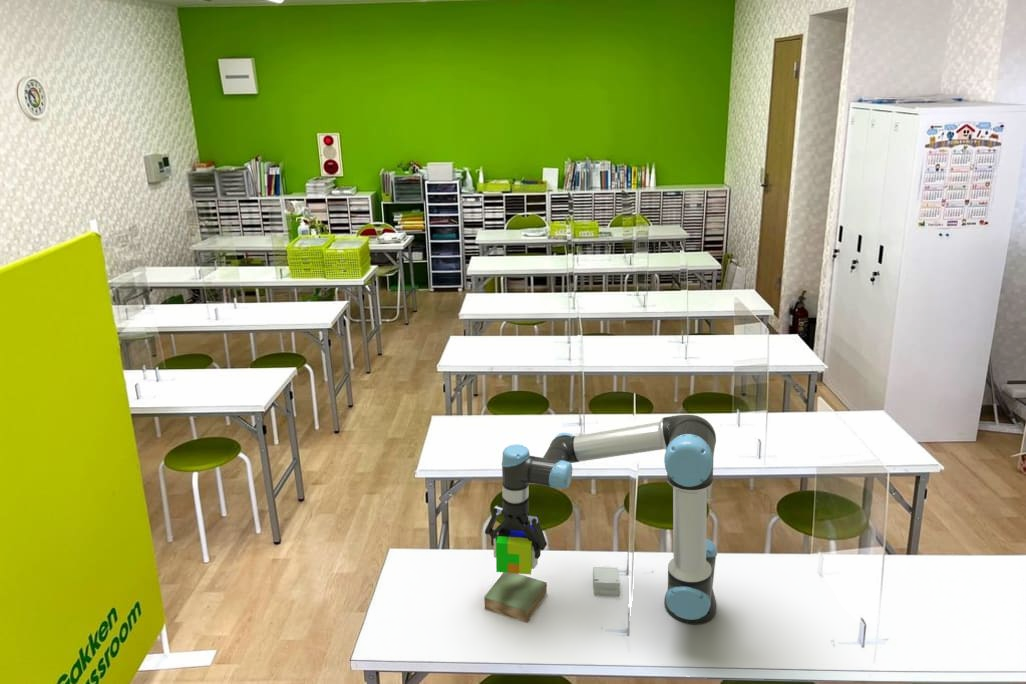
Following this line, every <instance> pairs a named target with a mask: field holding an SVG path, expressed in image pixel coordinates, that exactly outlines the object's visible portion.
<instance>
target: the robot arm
mask: <svg viewBox="0 0 1026 684" xmlns="http://www.w3.org/2000/svg"><path fill="white" fill-rule="evenodd" d="M716 443H717V435H716V431H715V429H714V427H713V425H712V424H711V423H710V422H709V421H708V420H707V419H705V418H704V417H701V416H699V415H695V414H679V415H678V414H676V415H672V416H671V415H670V416H666V417H662V418H661V419H660V420H659V421H658V422H651V423H647V424H646V423H645V424H640V425H635V426H634V425H633V426H627V427H622V428H615V429H609V430H604V431H597V432H593V433H592V432H591V433H587V434H581V435H573V434H571V433H568V432H561V433H558V434H557V435H556V436H555V437H554V438H553V439H552V440H551V443H550V444H549V446H548V449H547V450H546V452H545V454H544V455H543V457H540V456H533V455H530V449H529V448H528V447H527V446H524V445H523V444H511V445H507V446H506V447H505V448H504V449H503V451H502V458H501V459H502V460H501V472H502V475H501V476H502V478H501V479H502V488H501V489H502V490H501V491H502V493H501V494H502V496H501V497H502V505H501V506H502V507H501V506H500V505H499V504H496V505H495V506H494V507H493V508H492V515H491V518H490V519H489V521H488V524H487V526H486V528H485V530H484V533H485V535H489V536H490V544H491V547H493V557H494V558H495V559H496V541H497V537H498V533H499V531H500V530H501V529H502V528H503V527H504V526H505V525H506V524H507V523H508V524H509V525H511V526H515V527H518V528H519V527H520V529H521V531H523V532H524V533H525V535H526V536H527V538H528V540H529V541H532V546H533V549H532V564H531V568H532V570H534V569H536V567H537V565H538V564H539V563H538V561H539V558H540V556H541V552H542V551H544V549H546V547H547V546H548V543H547V541H546V537H545V535H544V532H543V529H542V527H541V524H540V517H539V515H537V514H536V515H534V516H533V515H530V513H529V509H530V508H529V507H530V506H529V504H530V502H529V500H530V499H529V495H530V494H529V493H530V491H529V486H530V484H531V485H532V484H533V485H539V486H544V487H548V488H552V489H568V488H569V486H570V484H571V480H572V478H573V476H572V475H573V465H572V464H575V463H580V462H586V461H587V462H588V461H593V460H600V459H606V458H614V457H620V456H627V455H635V454H641V453H646V452H647V453H648V452H653V451H662V450H665V453H664V458H663V459H664V460H663V462H664V463H663V464H664V467H665V471H666V480H667V483H668V485H670V486H671V487H672V490H673V491H672V493H673V494H672V495H673V496H672V500H673V502H672V505H673V507H672V512H673V514H672V517H673V518H672V519H673V521H672V522H673V523H672V524H673V525H672V526H673V528H672V530H673V532H672V533H673V546H672V547H673V548H672V549H673V552H672V553H673V558H672V559H670V560H669V562H668V564H667V591H666V592H665V595H664V609H665V610H666V612H667V613H668V614H669V616H671V617H672V618H673V619H675V620H677V621H679V622H682V623H685V624H689V625H702V624H705V623H709V622H710V621H712V619H714V618H715V616H716V613H717V608H718V606H717V605H718V604H717V599H716V595H715V592H714V589H713V587H714V586H713V585H714V576H715V568H716V561H717V555H718V552H717V545H716V543H714V541H712V540H710V539H709V538H707V514H708V513H707V509H708V508H707V506H708V504H707V503H708V502H707V501H708V500H707V499H708V495H707V494H708V489H709V488H710V487H711V486H712V485H713V483H714V457H715V456H714V455H715V447H716ZM501 514H502V517H503V518H504V520H502V521H501V522H500V523H499V525H497V527H496V528H495V529H493V528H494V526H495V523H496V521H497V520H498V517H499V515H501ZM524 524H525V525H524ZM530 525H532V528H533V530H532V528H531V527H530Z"/></svg>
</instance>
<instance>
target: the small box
mask: <svg viewBox="0 0 1026 684" xmlns="http://www.w3.org/2000/svg"><path fill="white" fill-rule="evenodd" d="M592 583H593V595H594V596H598V597H599V596H606V597H608V596H609V597H620V584H621V583H620V576H619V569H618V567H617V566H616V567H615V566H613V567H612V566H593V569H592Z"/></svg>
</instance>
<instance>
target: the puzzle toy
mask: <svg viewBox="0 0 1026 684" xmlns="http://www.w3.org/2000/svg"><path fill="white" fill-rule="evenodd" d="M524 525H525V524H524ZM530 527H531V528H532V525H531V524H530ZM532 530H533V528H532ZM497 534H498V537H497V541H496V558H495V559H496V560H495V563H496V564H495V565H496V567H495V568H496V573H503V572H504V573H517V574H521V575H531V574H532V570H533V569H532V568H531V564H532V549H533V546H532V541H529V540H528V538H527V536H526V535H525V533H524V532H523V531H521V529H520V527H519V528H518V527H515V526H511V525H509V524H508V523H507V524H506V525H505V526H504V527H503V528H502V529H501V530H500V531H499V532H498V533H497Z"/></svg>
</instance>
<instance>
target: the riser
mask: <svg viewBox="0 0 1026 684" xmlns="http://www.w3.org/2000/svg"><path fill="white" fill-rule="evenodd" d="M547 584H548V583H547V582H546V581H544V580H540V579H537V578H533V577H530V576H526V575H525V574H517V573H504V572H502V574H501V575H500V577H499V578H498V579H497V580H496V581H495V582H494V583H493V585H492V586H491V588H490V589H489V590H488V592H487V593H486V594H485V596H484V598H483V599H484V609H485V610H488V611H490V612H494V613H497V614H500V615H502V616H505V617H509V618H511V619H515V620H518V621H521V622H523V623H526V624H528V622H529V621H530V619H531V618H532V616H533V615H534V614H535V612H536V610H537V609H538V608H539V606H540V605H541V603H542V602H543V600H544V598H545V597H546V596H547V587H548V585H547Z"/></svg>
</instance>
